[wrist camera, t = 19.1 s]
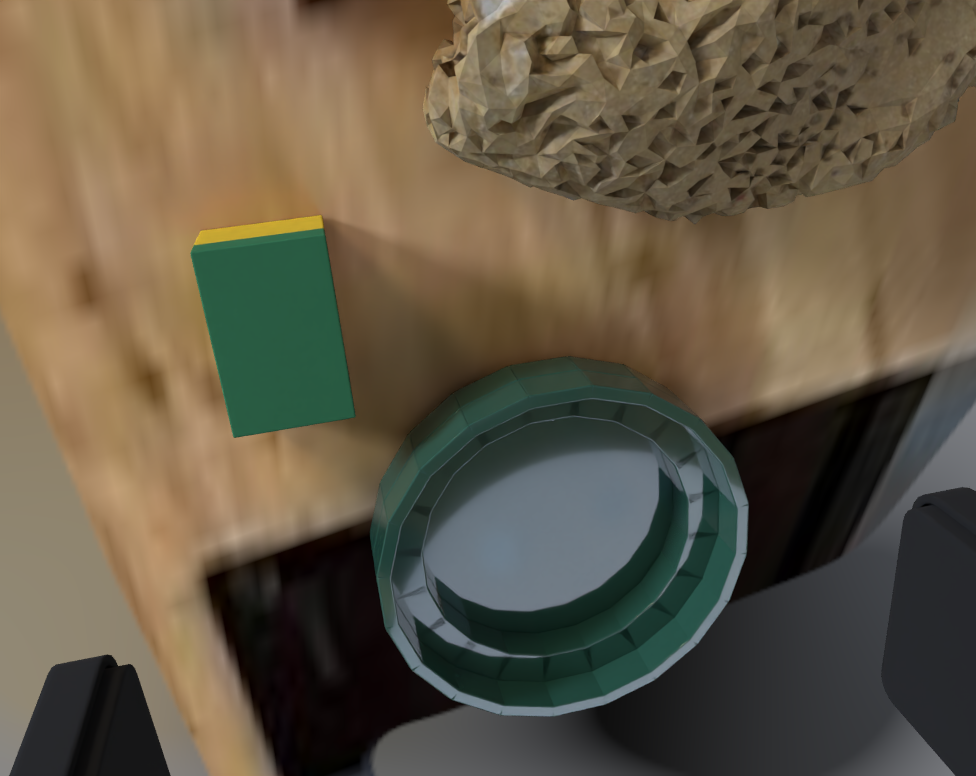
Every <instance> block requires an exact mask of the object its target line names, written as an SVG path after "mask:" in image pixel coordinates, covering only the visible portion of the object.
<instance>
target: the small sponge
mask: <svg viewBox="0 0 976 776" xmlns="http://www.w3.org/2000/svg"><path fill="white" fill-rule="evenodd" d="M190 254H191V258H192V262H193V267H194V271H195V275H196V280H197V284H198V288H199V292H200V297H201V301H202V305H203V309H204V314H205V318H206V322H207V326H208V331H209V335H210V339H211V344H212V348H213V352H214V356H215V361H216V365H217V369H218V373H219V378H220V382H221V386H222V390H223V395H224V399H225V403H226V408H227V412H228V416H229V420H230V425H231V429H232V433H233V437H234V438H236V437H242V436H248V435H254V434H260V433H266V432H272V431H278V430H284V429H290V428H296V427H302V426H308V425H313V424H319V423H325V422H331V421H337V420H343V419H349V418H355V416H356V415H355V409H354V403H353V397H352V391H351V385H350V379H349V373H348V367H347V361H346V355H345V349H344V343H343V337H342V331H341V325H340V319H339V313H338V307H337V301H336V295H335V289H334V283H333V277H332V271H331V266H330V260H329V254H328V248H327V242H326V236H325V230H324V224H323V218H322V215H318V216H311V217H303V218H295V219H288V220H280V221H272V222H265V223H257V224H249V225H242V226H234V227H226V228H219V229H211V230H203V231H200V234H199V236H198V238H197V240H196V242H195V244H194V246H193V248H192V251H191V253H190Z"/></svg>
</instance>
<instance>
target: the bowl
mask: <svg viewBox="0 0 976 776" xmlns="http://www.w3.org/2000/svg"><path fill="white" fill-rule="evenodd" d="M748 514H749V502H748V499H747V496H746V493H745V490H744V487H743V484H742V481H741V478H740V475H739V472H738V469H737V466H736V463H735V460H734V458H733V456H732V454H731V453H730V452H729V451H728V450H727V449H726V447H725V446H724V445H723V444H722V443H721V442H720V441H719V439H718V438H717V437H716V436H715V435H714V434H713V432H712V431H711V430H710V429H709V428H708V427H707V425H706V424H705V423H704V422H703V421H702V420H701V419H700V418H699V417H698V416H697V415H696V414H695V413H694V412H693V411H692V410H691V409H690V408H689V407H688V406H687V405H685V404H684V403H683V402H682V401H681V400H680V399H679V398H678V397H677V396H676V395H675V394H674V393H673V392H672V391H670V390H669V389H668V388H667V387H665V386H663V385H661V384H660V383H658V382H656V381H654V380H652V379H650V378H648V377H646V376H644V375H643V374H641V373H639V372H637V371H635V370H633V369H631V368H629V367H627V366H626V365H624V364H619V363H612V362H605V361H598V360H592V359H585V358H578V357H572V356H568V357H566V356H565V357H559V358H553V359H547V360H541V361H534V362H528V363H522V364H516V365H510V366H507V367H505V368H502V369H500V370H498V371H496V372H494V373H492V374H490V375H488V376H486V377H484V378H482V379H480V380H478V381H476V382H474V383H472V384H470V385H467V386H465V387H463V388H461V389H459V390H457V391H455V392H454V393H453V394H451V395H450V396H449V397H448V398H447V399H446V400H445V401H444V402H442V403H441V404H440V405H439V406H438V407H437V408H436V409H435V410H434V411H433V412H432V413H430V414H429V415H428V416H427V417H426V418H425V419H424V420H423V421H422V422H421V423H419V424H418V425H417V426H416V427H415V428H414V429H413V430H412V431H411V432H410V434H408V435H407V437H406V439H405V440H404V442H403V444H402V445H401V447H400V449H399V451H398V452H397V454H396V456H395V457H394V459H393V461H392V463H391V464H390V466H389V468H388V469H387V471H386V473H385V475H384V476H383V478H382V480H381V482H380V484H379V489H378V494H377V499H376V504H375V509H374V514H373V519H372V524H371V529H370V540H371V546H372V553H373V559H374V566H375V572H376V579H377V584H378V590H379V596H380V602H381V608H382V614H383V620H384V625H385V628H386V630H387V632H388V634H389V635H390V637H391V638H392V640H393V642H394V643H395V645H396V646H397V648H398V650H399V651H400V653H401V654H402V656H403V658H404V659H405V661H406V662H407V664H408V666H409V667H410V669H411V670H412V671H413V672H415V673H416V674H417V675H419V676H420V677H421V678H423V679H424V680H425V681H427V682H428V683H429V684H431V685H432V686H433V687H435V688H436V689H437V690H439V691H440V692H442V693H443V694H444V695H446V696H447V697H448V698H450V699H452V700H454V701H457V702H460V703H463V704H466V705H469V706H472V707H476V708H479V709H482V710H485V711H488V712H492V713H495V714H498V715H502V716H504V715H505V716H545V717H547V716H548V717H549V716H550V717H552V716H558V715H562V714H567V713H571V712H575V711H580V710H584V709H588V708H593V707H597V706H601V705H605V704H608V703H610V702H612V701H614V700H616V699H618V698H620V697H622V696H624V695H626V694H628V693H630V692H632V691H634V690H636V689H638V688H640V687H642V686H644V685H646V684H648V683H650V682H652V681H654V680H655V679H657V678H658V677H659V676H660V675H662V674H663V673H664V672H665V671H666V670H668V669H669V668H670V667H671V666H672V665H673V664H675V663H676V662H677V661H678V660H679V659H681V658H682V657H683V656H684V655H686V654H687V653H688V652H689V651H690V650H692V649H693V648H694V647H695V646H696V645H697V644H698V643H699V642H700V640H701V639H702V638H703V636H704V635H705V634H706V632H707V631H708V630H709V628H710V627H711V625H712V624H713V623H714V621H715V620H716V619H717V617H718V616H719V614H720V613H721V612H722V610H723V609H724V608H725V606H726V605H727V603H728V601H730V598H731V595H732V593H733V590H734V587H735V585H736V582H737V579H738V576H739V574H740V571H741V568H742V566H743V563H744V560H745V558H746V555H747V539H748Z"/></svg>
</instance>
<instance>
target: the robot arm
mask: <svg viewBox="0 0 976 776" xmlns="http://www.w3.org/2000/svg"><path fill="white" fill-rule="evenodd" d="M881 677H882V682H883V686H884V689H885V691H886V693H887V695H888V697H889V699H890V700H891V702H892V703H893V704H894V705H895V707H896V708H897V709H898V710H899V711H900V712H901V714H902V715H903V716H904V717H905V718H906V719H907V720H908V722H909V723H910V724H911V725H912V726H913V727H914V728H915V730H916V731H917V732H918V733H919V734H920V735H921V736H922V738H923V739H924V740H925V741H926V742H927V743H928V745H929V746H930V747H931V748H932V749H933V750H934V751H935V752H936V754H937V755H938V756H939V757H940V758H941V759H942V761H943V762H944V763H945V764H946V765H947V766H948V767H949V769H950V770H951V771H952V772H953V773H954V774H955V776H976V491H974V490H972V489H970V488H963V487H962V488H956V489H951V490H946V491H940V492H936V493H930V494H925V495H922V496H920V497H918V498H917V500H916V501H915V502H914V504H913V508H912V509H911V510H909V511H908V512H907V513H906V514H905V516H904V520H903V526H902V533H901V540H900V546H899V553H898V560H897V567H896V574H895V581H894V589H893V595H892V602H891V609H890V616H889V623H888V630H887V636H886V643H885V650H884V657H883V664H882V676H881ZM9 776H170V773H169V770H168V767H167V764H166V761H165V758H164V755H163V752H162V748H161V745H160V742H159V739H158V736H157V733H156V730H155V727H154V724H153V721H152V718H151V715H150V712H149V709H148V706H147V703H146V700H145V697H144V693H143V690H142V687H141V684H140V681H139V678H138V675H137V673H136V670H135V668H134V667H133V666H132V665H131V664H128V665H122V666H118V665H117V663H116V660H115V659H114V658H113V657H112V655H103V656H98V657H93V658H88V659H83V660H77V661H72V662H67V663H62V664H57V665H55V666H53V667H52V668H51V670H50V672H49V673H48V675H47V678H46V680H45V683H44V686H43V688H42V691H41V694H40V696H39V699H38V702H37V704H36V707H35V710H34V712H33V715H32V718H31V720H30V723H29V725H28V728H27V731H26V733H25V736H24V739H23V741H22V744H21V746H20V749H19V752H18V755H17V757H16V759H15V762H14V765H13V767H12V770H11V773H10V775H9Z"/></svg>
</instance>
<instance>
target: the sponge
mask: <svg viewBox="0 0 976 776" xmlns="http://www.w3.org/2000/svg"><path fill="white" fill-rule="evenodd" d="M447 5H448V7H449V8H450V9H451V11H452V12H453V13H454V15H455V17H454V19H453V32H454V44H453V42H452V41H449V40H445V39H444V40H443V41H442V43H441V44H440V46H439V47H438V49H437V50H436V53H435V55H434V57H433V59H432V62H433V67H434V70H433V73H432V77H431V80H430V84H429V88H427V87H426V91H425V97H424V104H423V112H424V116H425V120H426V124H427V127H428V129H429V131H430V132H431V134H432V136H433V138H434V140H435V142H436V143H437V144H439V145H440V146H442V147H443V148H445V149H447V150H448V151H450V152H451V153H453V154H454V155H456V156H457V157H459V158H460V159H462V160H463V161H465V162H468V163H470V164H473V165H476V166H479V167H482V168H485V169H488V170H491V171H494V172H497V173H500V174H502V175H505V176H507V177H510V178H512V179H514V180H516V181H518V182H520V183H522V184H524V185H526V186H528V187H533V186H535V187H537V188H539V189H541V190H545V191H548V192H551V193H554V194H557V195H561V196H564V197H566V198H568V199H571V200H573V201H574V200H577V199H580V198H583V199H586V200H589V201H591V202H594V203H597V204H600V205H605V206H611V207H615V208H619V209H623V210H626V211H630V212H634V213H637V212H641V211H645V212H647V213H649V214H651V215H653V216H655V217H658V218H661V219H665V220H668V221H674V220H677V219H678V218H679V217H682V216H684V217H686V218H687V219H689V220H690V221H691V222H692V223H694V224H696V223H697V222H698V221H699V220H700V219H701V218H702V217H703V216H706V215H709V214H711V213H716V214H719V215H722V216H732V215H736V214H740V213H744V212H745V211H746V210H747V209H749V208H753V207H763V208H767V209H769V208H776V207H782V206H785V205H787V204H789V203H791V202H793V201H794V200H795V198H796V196H797V195H801V194H803V195H804V196H805V197H810V196H815V195H819V194H823V193H827V192H830V191H834V190H838V189H843V188H847V187H850V186H853V185H857V184H861V183H865V182H869V181H872V180H873V179H874V178H875V177H876V176H877V175H878V174H879V173H880V172H881V171H882V170H883V169H884V168H887V167H892V166H895V165H896V164H898V163H899V162H900V161H901V160H903V159H904V158H905V157H906V156H907V155H909V154H910V153H911V152H912V151H913V150H915V149H916V148H917V147H918V146H920V145H922V144H923V143H925V142H927V141H928V140H929V139H930V138H931V136H932V135H933V133H934V132H935V131H936V130H939V129H941V128H943V127H944V126H946V125H948V124H950V123H952V122H954V121H955V118H956V113H957V102H959V97H961V96H962V95H963V93H964V92H965V90H966V89H967V87H968V86H976V0H448V2H447Z"/></svg>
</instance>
